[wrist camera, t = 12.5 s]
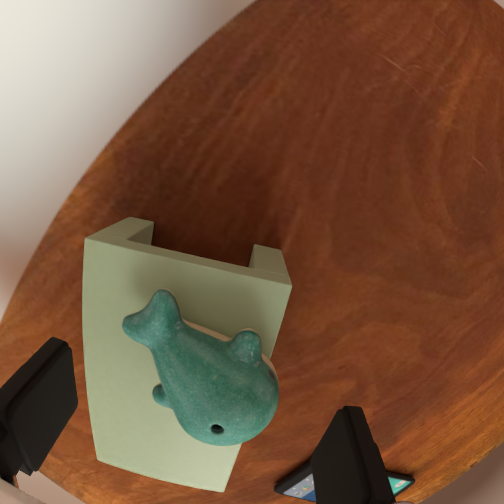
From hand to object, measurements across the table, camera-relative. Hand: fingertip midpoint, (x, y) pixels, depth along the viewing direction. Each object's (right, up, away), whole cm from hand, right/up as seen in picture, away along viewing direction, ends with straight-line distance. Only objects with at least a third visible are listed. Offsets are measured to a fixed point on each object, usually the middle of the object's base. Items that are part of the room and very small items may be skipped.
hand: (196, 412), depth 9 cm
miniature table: (-3, -1, +10) cm, 11 cm away
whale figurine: (0, +1, +4) cm, 4 cm away
